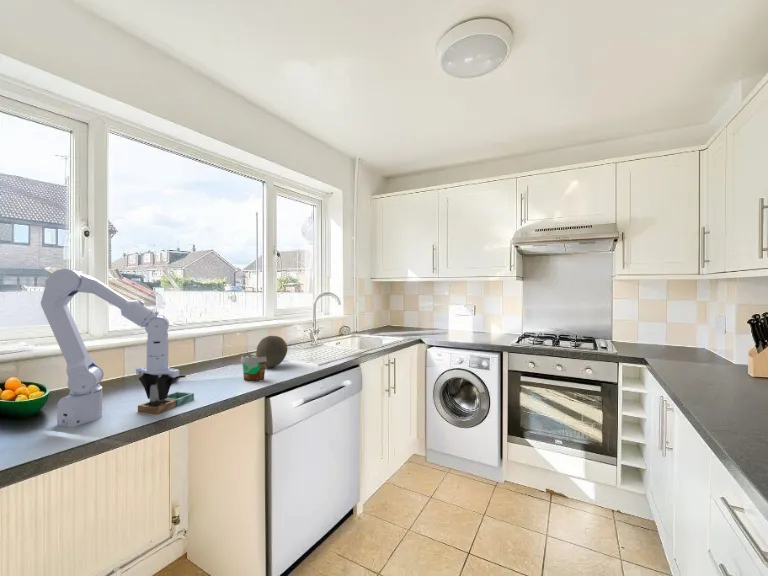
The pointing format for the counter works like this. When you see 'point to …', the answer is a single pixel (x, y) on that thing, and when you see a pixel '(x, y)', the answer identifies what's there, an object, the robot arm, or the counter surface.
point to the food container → (253, 367)
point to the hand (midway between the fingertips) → (157, 398)
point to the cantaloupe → (272, 350)
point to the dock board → (166, 403)
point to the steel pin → (155, 395)
